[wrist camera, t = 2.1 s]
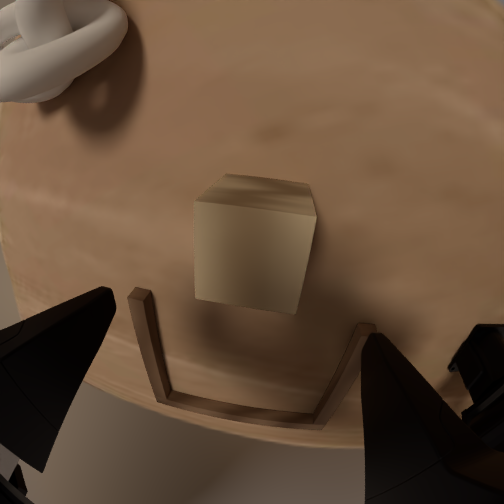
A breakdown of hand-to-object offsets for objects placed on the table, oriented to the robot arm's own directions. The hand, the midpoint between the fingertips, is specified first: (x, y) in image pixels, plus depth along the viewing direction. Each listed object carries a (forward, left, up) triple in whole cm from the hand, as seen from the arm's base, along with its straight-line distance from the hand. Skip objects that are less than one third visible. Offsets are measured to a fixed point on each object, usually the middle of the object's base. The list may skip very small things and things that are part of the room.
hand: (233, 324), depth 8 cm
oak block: (0, 0, -10) cm, 10 cm away
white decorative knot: (+15, -14, -10) cm, 23 cm away
